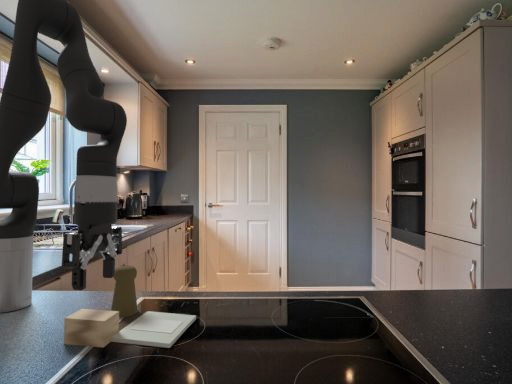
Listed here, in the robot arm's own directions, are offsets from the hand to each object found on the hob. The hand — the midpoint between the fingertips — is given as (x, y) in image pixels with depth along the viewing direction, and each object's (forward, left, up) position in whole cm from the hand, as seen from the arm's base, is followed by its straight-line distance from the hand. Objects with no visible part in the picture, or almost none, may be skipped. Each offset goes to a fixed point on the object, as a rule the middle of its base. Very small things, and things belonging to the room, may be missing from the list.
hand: (94, 283), depth 61 cm
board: (+10, +7, -11) cm, 16 cm away
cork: (-2, +14, -11) cm, 18 cm away
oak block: (0, 0, -11) cm, 11 cm away
